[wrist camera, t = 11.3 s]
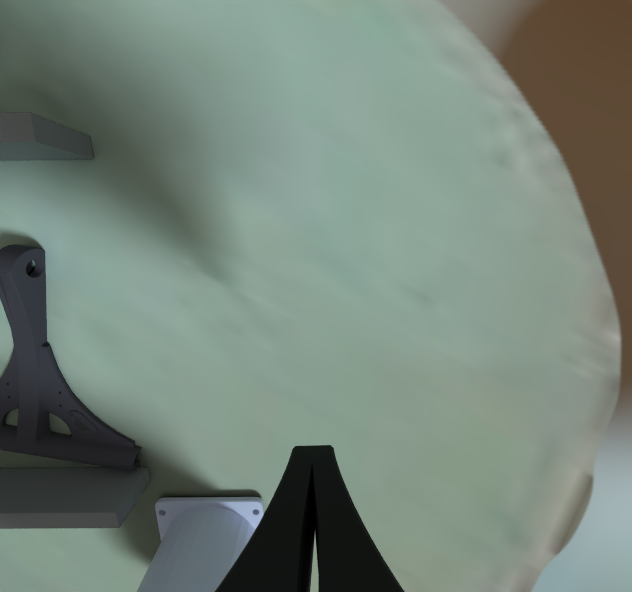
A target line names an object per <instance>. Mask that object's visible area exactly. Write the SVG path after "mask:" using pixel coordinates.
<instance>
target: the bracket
mask: <svg viewBox="0 0 632 592" xmlns="http://www.w3.org/2000/svg"><path fill="white" fill-rule="evenodd" d="M32 259H33V261H34V262H35V269H34V271H33V272H32V273H31V274H30V275H27V274H28V273H29V272H30V271H31V269H32V261H31V260H32ZM0 299H1V302H2V304H3V307H4V310H5V313H6V316H7V319H8V321H9V324H10V327H11V331H12V337H13V342H14V351H13V355H12V358H11V361H10V364H9V366H8V368H7V370H6V372H5V374H4V375H3V377H2V379H1V380H0V450H4V451H11V452H17V453H23V454H30V455H36V456H42V457H49V458H55V459H61V460H68V461H74V462H80V463H87V464H93V465H99V466H106V467H112V468H118V469H125V470H131V471H135V470H136V469H137V468H138V467H139V466H140V461H139V460H135V458H136V455H137V454H138V452H139V451H140V450H141V447H139V446H135V441H133V440H132V439H130V438H128V437H126V436H124V435H123V434H121V433H119V432H117V431H116V430H114V429H113V428H111V427H110V426H108V425H107V424H105V423H104V422H103V421H101V420H100V419H99V418H98V417H97V416H95V415H94V414H93V413H92V412H91V411H90V410H89V409H88V408H87V407H86V406H85V405H84V404H83V403H82V402H81V401H80V400H79V399H78V398H77V397H76V396H75V395H74V394H73V393H72V391H71V390H70V388H69V386H68V385H67V383H66V381H65V380H64V378H63V376H62V374H61V373H60V371H59V369H58V366H57V364H56V361H55V359H54V356H53V354H52V351H51V348H50V346H49V345H47V318H46V273H45V251H44V250H42V249H38V248H33V247H27V246H22V245H8V246H6V247H4V248H2V249H1V250H0ZM16 408H19V415H18V425H17V426H11V425H5V419H6V416H7V414H8V412H9V411H10V410H12V409H16ZM49 413H52V414H54V415H56V416H58V417H59V418H61V419H62V420H63V421H64V422H65V423H66V424H67V425H68V427H69V429H70V431H71V434H72V435H66V434H60V433H55V432H52V431H51V430H50V425H49Z"/></svg>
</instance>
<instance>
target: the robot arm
mask: <svg viewBox="0 0 632 592" xmlns="http://www.w3.org/2000/svg"><path fill="white" fill-rule="evenodd" d="M255 509H256V510H255ZM155 511H156V516H157V522H158V528H159V533H160V539H161V544H160V546H159V548H158V550H157V552H156V554H155V556H154V558H153V560H152V562H151V564H150V566H149V568H148V570H147V572H146V574H145V576H144V578H143V580H142V582H141V584H140V586H139V588H138V590H137V592H310V585H311V573H312V560H313V548H314V535H315V534H316V547H317V560H318V573H319V592H404V590H403V589H402V587H401V586H400V584H399V583H398V581H397V580H396V578H395V577H394V575H393V573H392V572H391V570H390V569H389V567H388V566H387V564H386V562H385V561H384V559H383V557H382V556H381V554H380V552H379V551H378V549H377V547H376V546H375V544H374V542H373V540H372V539H371V537H370V535H369V533H368V531H367V529H366V528H365V526H364V524H363V522H362V520H361V518H360V516H359V514H358V512H357V510H356V508H355V506H354V504H353V502H352V499H351V497H350V495H349V493H348V490H347V488H346V486H345V483H344V481H343V478H342V476H341V473H340V470H339V467H338V464H337V461H336V457H335V453H334V448H333V447H332V446H331V445H321V446H295V447H294V448H293V450H292V453H291V456H290V459H289V462H288V465H287V467H286V470H285V472H284V474H283V477H282V479H281V481H280V483H279V485H278V488H277V490H276V492H275V494H274V496H273V498H272V500H271V502H270V504H269V506H268V508H267V510H266V511H265V513H264V509H263V501H262V499H261V498H259V497H185V498H160V499H158V501H157V502H156V504H155Z"/></svg>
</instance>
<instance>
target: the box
mask: <svg viewBox="0 0 632 592" xmlns="http://www.w3.org/2000/svg"><path fill="white" fill-rule="evenodd" d="M78 159H94V157H93V152H92V146H91V140H90V136H88V135H86V134H83V133H81V132H78V131H76V130H73V129H71V128H68V127H66V126H63V125H61V124H58V123H56V122H53V121H50V120H48V119H45V118H43V117H40V116H38V115H35V114H33V113H30V112H15V113H0V161H3V160H78ZM149 482H150V477H149V471H148V467H138V468H137V469H136V470H135V471H131V470H125V469H118V468H0V529H13V528H119V527H120V526H121V524H122V523H123V521H124V520H125V518H126V517H127V515H128V514H129V512H130V511H131V509H132V508H133V506H134V504H135V503H136V501H137V500H138V498H139V497H140V495H141V494H142V492H143V491H144V489H145V488H146V486H147V485H148V483H149Z"/></svg>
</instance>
